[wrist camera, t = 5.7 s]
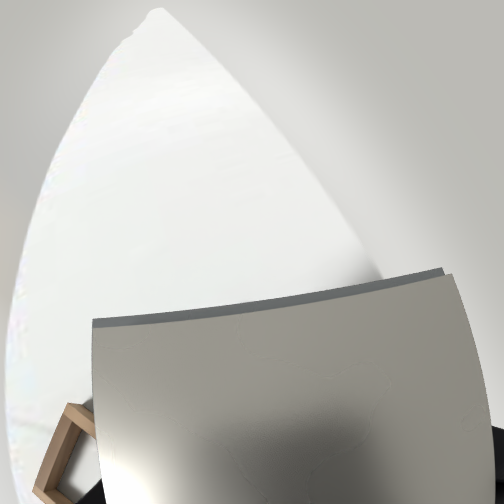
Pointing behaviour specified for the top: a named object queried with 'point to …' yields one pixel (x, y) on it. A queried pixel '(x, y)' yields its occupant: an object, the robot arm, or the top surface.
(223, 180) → the top surface
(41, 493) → the walnut bin
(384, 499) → the tin
